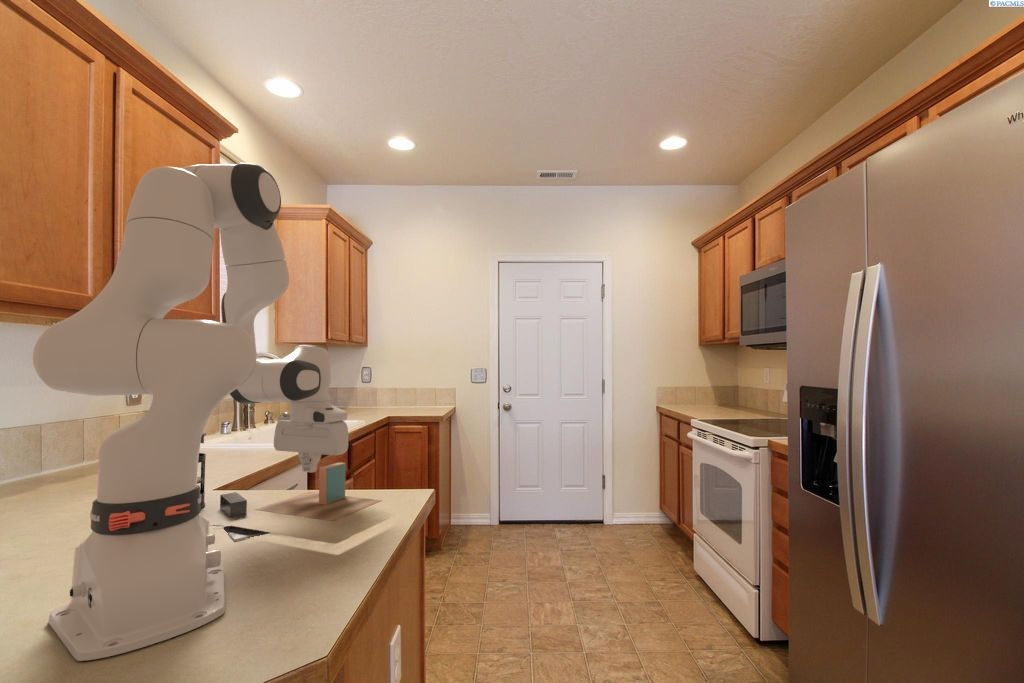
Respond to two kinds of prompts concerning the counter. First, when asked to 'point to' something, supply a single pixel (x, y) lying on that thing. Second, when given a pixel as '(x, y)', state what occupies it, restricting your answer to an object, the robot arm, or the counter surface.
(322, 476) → the tile
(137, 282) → the robot arm
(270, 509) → the board
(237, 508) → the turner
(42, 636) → the counter surface
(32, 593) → the counter surface
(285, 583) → the counter surface
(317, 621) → the counter surface
